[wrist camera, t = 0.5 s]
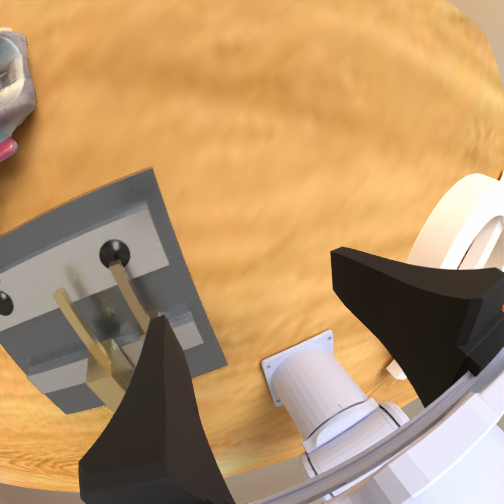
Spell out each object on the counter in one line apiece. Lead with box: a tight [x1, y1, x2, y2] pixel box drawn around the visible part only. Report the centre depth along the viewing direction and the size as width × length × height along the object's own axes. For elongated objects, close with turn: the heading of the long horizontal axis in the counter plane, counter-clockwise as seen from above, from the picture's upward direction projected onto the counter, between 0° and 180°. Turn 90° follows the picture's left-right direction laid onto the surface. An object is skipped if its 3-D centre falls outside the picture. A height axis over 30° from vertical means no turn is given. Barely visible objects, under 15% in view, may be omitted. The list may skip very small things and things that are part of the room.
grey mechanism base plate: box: [0, 167, 228, 414], centre depth 19 cm, size 18×18×3 cm
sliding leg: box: [53, 287, 135, 413], centre depth 17 cm, size 10×2×4 cm, turn 13°
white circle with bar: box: [386, 172, 504, 380], centre depth 34 cm, size 28×28×5 cm
